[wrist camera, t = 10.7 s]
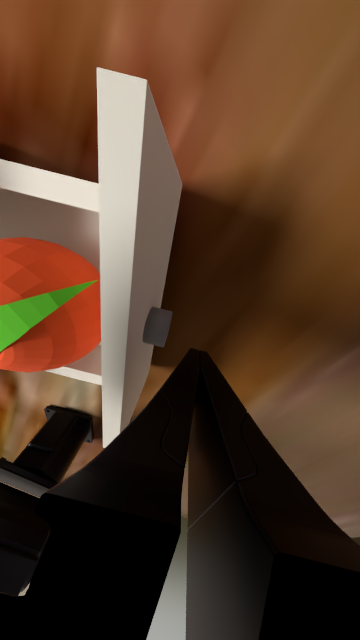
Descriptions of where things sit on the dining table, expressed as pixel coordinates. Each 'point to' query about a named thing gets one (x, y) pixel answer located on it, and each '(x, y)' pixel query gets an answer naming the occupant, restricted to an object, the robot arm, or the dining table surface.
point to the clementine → (46, 305)
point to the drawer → (110, 236)
